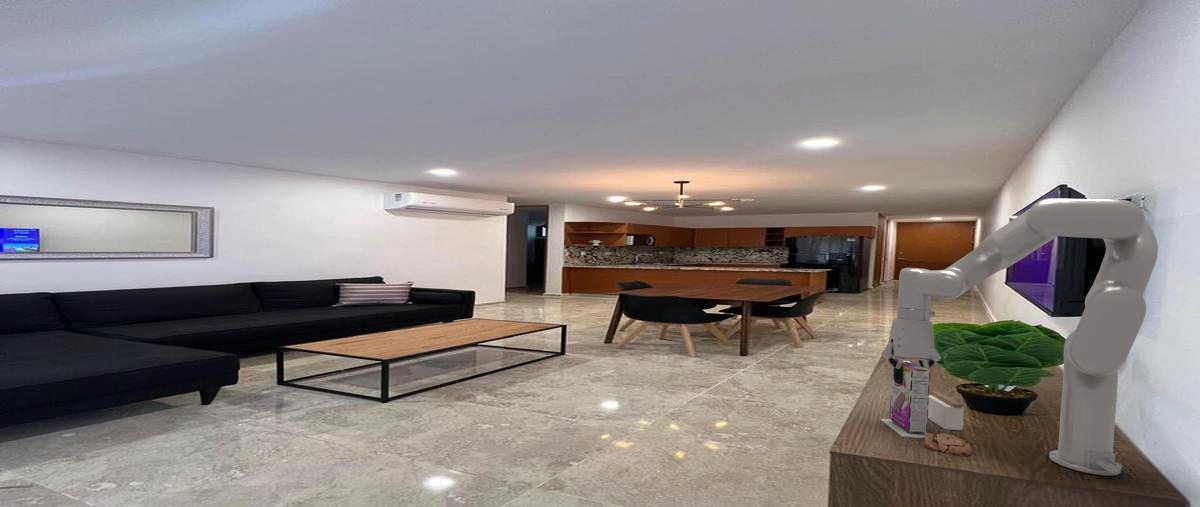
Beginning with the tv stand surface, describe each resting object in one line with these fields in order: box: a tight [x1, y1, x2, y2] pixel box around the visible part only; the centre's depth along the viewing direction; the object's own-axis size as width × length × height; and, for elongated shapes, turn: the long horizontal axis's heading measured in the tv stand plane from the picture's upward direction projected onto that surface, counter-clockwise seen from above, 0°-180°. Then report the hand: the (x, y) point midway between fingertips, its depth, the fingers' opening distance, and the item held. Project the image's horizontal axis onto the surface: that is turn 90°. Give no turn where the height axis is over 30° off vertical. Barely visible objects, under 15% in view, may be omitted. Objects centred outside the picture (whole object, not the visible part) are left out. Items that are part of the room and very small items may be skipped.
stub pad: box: [879, 418, 930, 439], centre depth 155 cm, size 14×8×1 cm, turn 175°
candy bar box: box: [888, 359, 931, 433], centre depth 155 cm, size 11×5×16 cm, turn 179°
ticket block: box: [928, 390, 965, 431], centre depth 162 cm, size 13×5×7 cm, turn 175°
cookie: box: [923, 432, 973, 457], centre depth 142 cm, size 10×11×3 cm
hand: (909, 382), depth 155 cm, fingers closed on candy bar box, 5 cm apart
